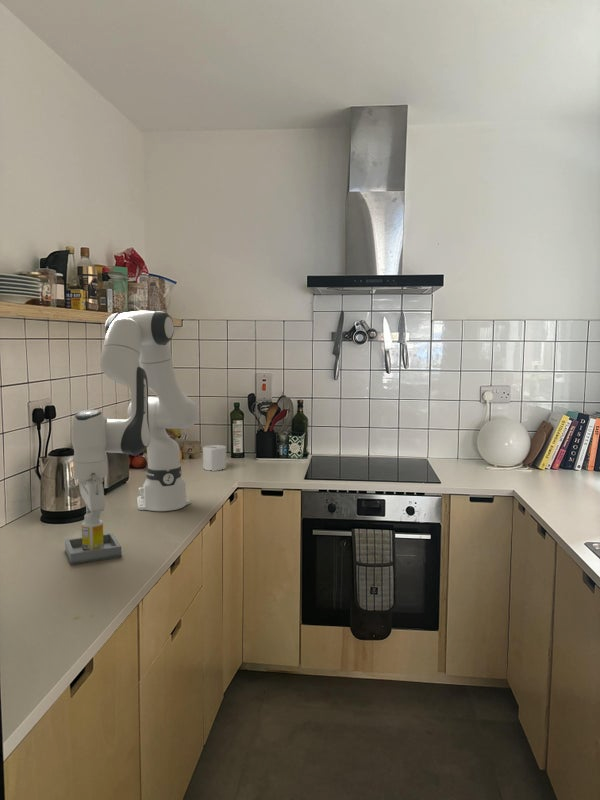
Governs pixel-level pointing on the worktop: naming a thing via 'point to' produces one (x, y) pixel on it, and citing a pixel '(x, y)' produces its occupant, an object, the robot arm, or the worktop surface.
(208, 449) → the toilet tissue
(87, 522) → the supplement bottle
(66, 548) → the tray
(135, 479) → the worktop surface
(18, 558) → the worktop surface
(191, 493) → the worktop surface
